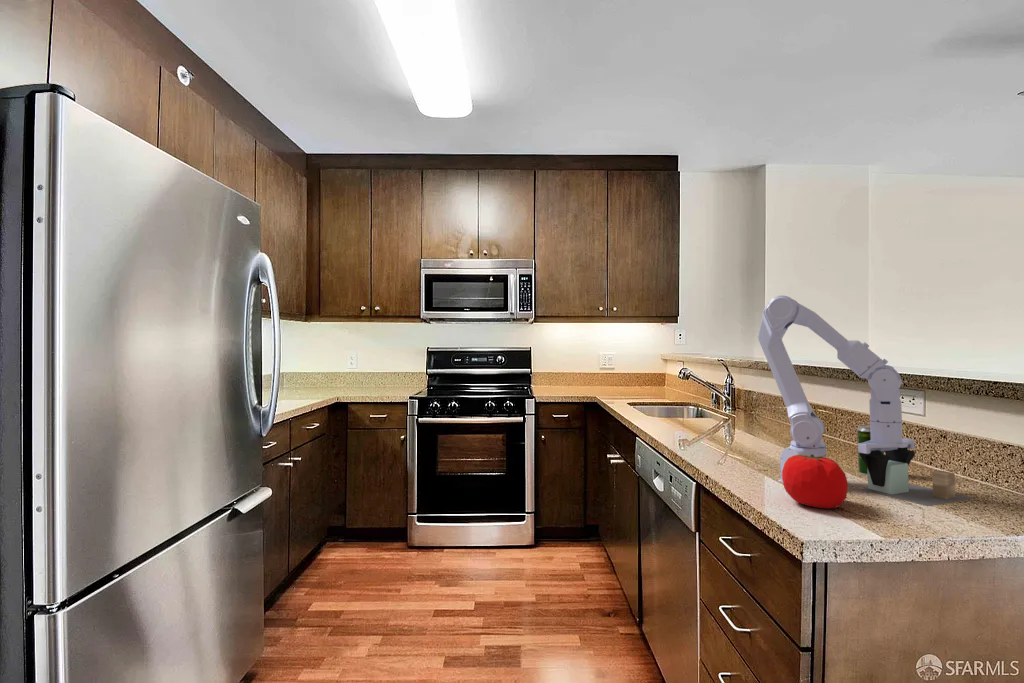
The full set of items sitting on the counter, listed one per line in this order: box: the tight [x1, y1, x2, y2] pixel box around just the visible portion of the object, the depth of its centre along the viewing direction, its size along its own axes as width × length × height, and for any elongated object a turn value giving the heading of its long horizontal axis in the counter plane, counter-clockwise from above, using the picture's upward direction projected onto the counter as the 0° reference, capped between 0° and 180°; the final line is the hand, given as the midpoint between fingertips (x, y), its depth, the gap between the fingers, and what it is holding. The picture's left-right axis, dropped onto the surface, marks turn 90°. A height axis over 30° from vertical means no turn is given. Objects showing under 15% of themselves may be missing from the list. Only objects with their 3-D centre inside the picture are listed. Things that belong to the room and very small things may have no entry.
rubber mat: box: [860, 483, 975, 507], centre depth 113 cm, size 14×14×1 cm
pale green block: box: [867, 460, 910, 494], centre depth 116 cm, size 5×5×6 cm
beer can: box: [856, 424, 885, 477], centre depth 131 cm, size 5×5×12 cm
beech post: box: [931, 470, 956, 499], centre depth 110 cm, size 3×3×5 cm
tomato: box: [782, 454, 849, 510], centre depth 108 cm, size 11×13×10 cm
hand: (887, 484), depth 116 cm, fingers closed on pale green block, 5 cm apart
